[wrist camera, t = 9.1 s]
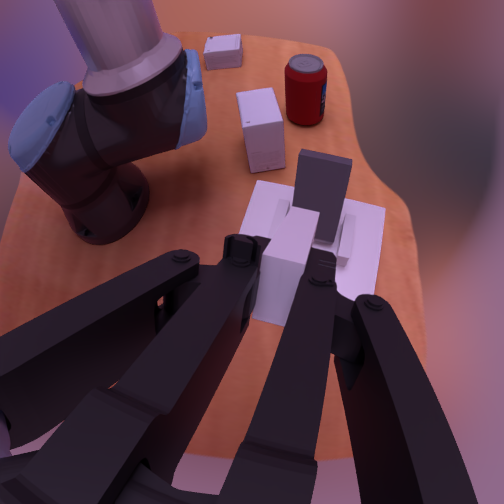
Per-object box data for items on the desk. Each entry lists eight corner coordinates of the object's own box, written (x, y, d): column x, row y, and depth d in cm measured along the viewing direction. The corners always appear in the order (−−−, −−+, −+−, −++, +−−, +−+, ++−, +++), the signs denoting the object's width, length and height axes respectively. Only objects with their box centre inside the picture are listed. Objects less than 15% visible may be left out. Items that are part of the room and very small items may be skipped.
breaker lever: (332, 247, 34) (351, 165, 27) (287, 237, 35) (298, 154, 28) (333, 239, 35) (352, 159, 28) (290, 229, 36) (301, 148, 29)
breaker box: (358, 319, 39) (380, 300, 29) (237, 289, 42) (222, 261, 32) (372, 236, 43) (393, 198, 33) (262, 211, 46) (255, 167, 36)
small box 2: (285, 168, 49) (284, 121, 39) (250, 174, 49) (241, 128, 39) (276, 132, 52) (273, 86, 42) (244, 138, 52) (235, 91, 42)
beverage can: (331, 120, 52) (336, 67, 41) (299, 133, 51) (300, 78, 40) (309, 99, 54) (311, 48, 43) (279, 111, 54) (275, 58, 43)
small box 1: (242, 67, 61) (239, 49, 56) (206, 71, 61) (202, 53, 57) (243, 50, 64) (241, 33, 59) (210, 53, 64) (206, 36, 60)
